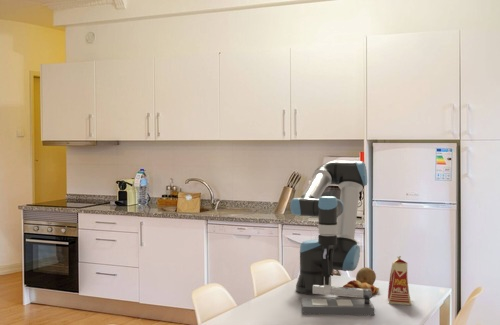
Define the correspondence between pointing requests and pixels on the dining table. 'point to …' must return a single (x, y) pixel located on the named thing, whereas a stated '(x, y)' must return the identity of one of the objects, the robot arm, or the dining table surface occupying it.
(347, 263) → the robot arm
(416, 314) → the dining table surface
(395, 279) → the milk carton
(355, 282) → the croissant
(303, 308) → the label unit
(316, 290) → the swing arm
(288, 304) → the dining table surface
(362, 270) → the natural sponge
